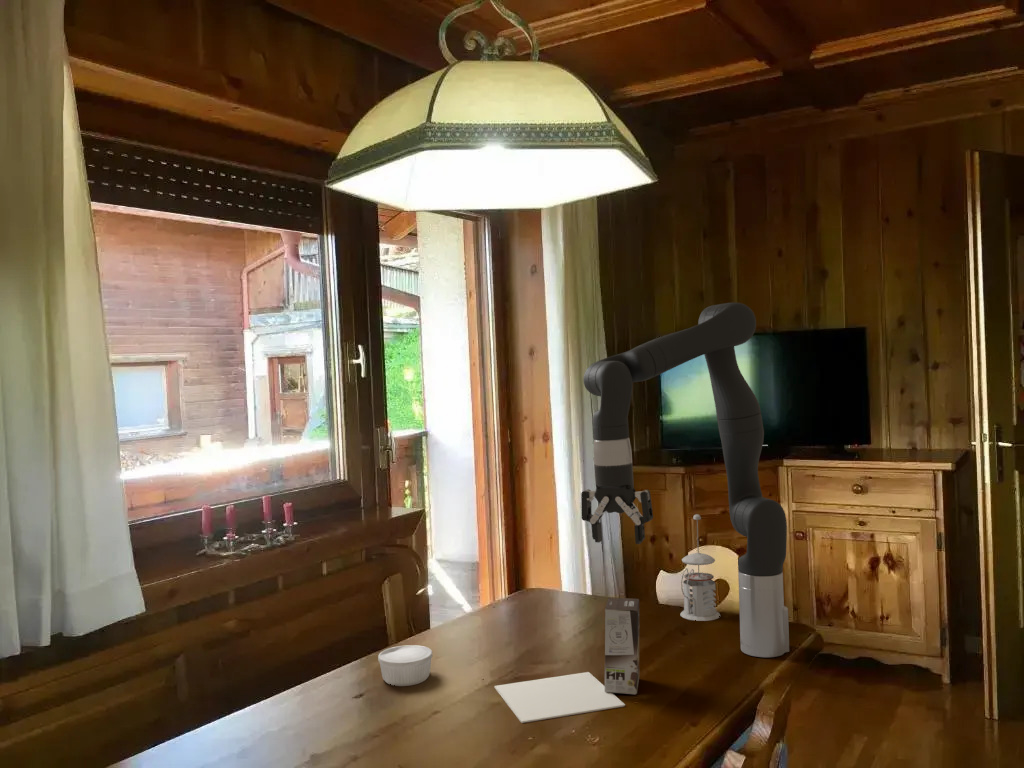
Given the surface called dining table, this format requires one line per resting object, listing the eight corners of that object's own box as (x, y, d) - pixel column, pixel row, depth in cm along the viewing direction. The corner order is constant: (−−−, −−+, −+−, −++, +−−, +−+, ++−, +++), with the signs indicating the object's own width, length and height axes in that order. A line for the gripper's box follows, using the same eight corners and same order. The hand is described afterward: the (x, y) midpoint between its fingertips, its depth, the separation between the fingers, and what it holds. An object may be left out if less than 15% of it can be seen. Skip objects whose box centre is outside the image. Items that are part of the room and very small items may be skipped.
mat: (588, 673, 175) (588, 671, 175) (625, 706, 158) (624, 704, 158) (494, 687, 169) (494, 685, 169) (521, 723, 152) (521, 721, 152)
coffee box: (637, 695, 162) (638, 610, 162) (603, 692, 164) (603, 608, 163) (640, 678, 171) (640, 598, 171) (608, 676, 173) (608, 596, 172)
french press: (728, 613, 212) (724, 513, 212) (703, 625, 204) (700, 520, 203) (693, 606, 219) (690, 509, 218) (668, 617, 210) (664, 516, 210)
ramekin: (401, 665, 184) (400, 641, 184) (444, 673, 178) (443, 648, 178) (367, 683, 174) (366, 658, 174) (411, 692, 169) (410, 665, 169)
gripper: (653, 458, 170) (658, 539, 170) (587, 459, 176) (592, 537, 177) (641, 464, 163) (646, 548, 164) (572, 464, 170) (578, 545, 170)
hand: (618, 542), depth 170 cm, fingers open, 8 cm apart
